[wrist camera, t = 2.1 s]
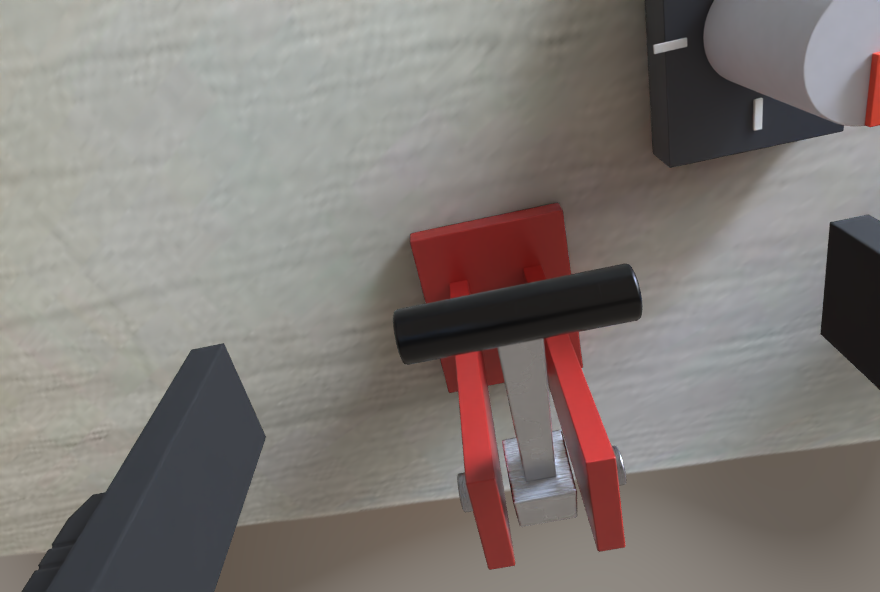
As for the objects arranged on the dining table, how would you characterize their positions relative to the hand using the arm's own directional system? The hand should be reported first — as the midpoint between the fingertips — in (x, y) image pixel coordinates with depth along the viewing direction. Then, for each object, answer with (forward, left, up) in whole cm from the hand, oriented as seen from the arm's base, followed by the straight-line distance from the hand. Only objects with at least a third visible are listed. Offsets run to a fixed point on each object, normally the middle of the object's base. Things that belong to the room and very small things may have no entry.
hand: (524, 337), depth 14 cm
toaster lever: (+5, 0, -4) cm, 6 cm away
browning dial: (-2, +13, -17) cm, 21 cm away
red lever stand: (+10, 0, -19) cm, 22 cm away
